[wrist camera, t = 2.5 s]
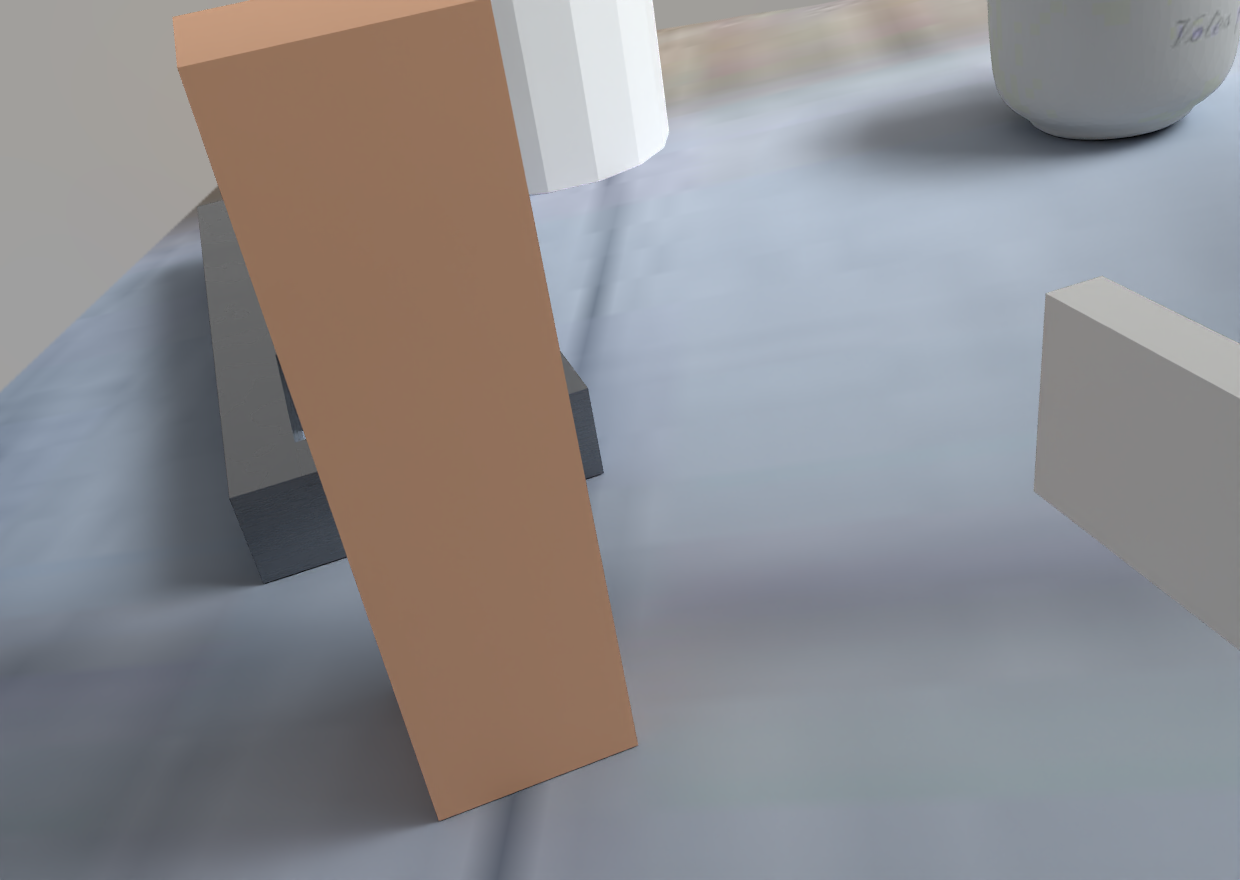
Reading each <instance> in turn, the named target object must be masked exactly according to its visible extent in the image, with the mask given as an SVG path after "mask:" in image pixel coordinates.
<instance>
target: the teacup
mask: <svg viewBox="0 0 1240 880" xmlns="http://www.w3.org/2000/svg"><path fill="white" fill-rule="evenodd" d="M987 1H988V24H989V39H990V51H991V61H992V70H993V75H994V80H995V84H996V87H997V90H998V92H999V94H1000V96H1001V98H1002V99H1003V101H1004V102H1005V103H1006V104H1007V105H1008V106H1009V107H1010V108H1011V109H1012V110H1013V111H1014V112H1016V113H1017V114H1019V115H1021V116H1022V117H1024V118H1026V119H1028V120H1029V121H1030V122H1031V123H1032V124H1033V126H1035V127H1036V128H1038V129H1040V130H1041V131H1043V132H1045V133H1047V134H1050V135H1053V136H1057V137H1063V138H1070V139H1085V140H1095V139H1114V138H1123V137H1130V136H1135V135H1140V134H1145V133H1149V132H1153V131H1156V130H1160V129H1162V128H1165V127H1167V126H1169V125H1171V124H1173V123H1175V122H1177V121H1178V120H1180V119H1181V118H1183V117H1184V116H1185V115H1187V114H1188V113H1189V112H1190V111H1191V110H1192V108H1193V107H1194V106H1195V105H1197V104H1198V103H1200V102H1201V101H1203V100H1204V99H1206V98H1207V97H1208V96H1209V95H1210V94H1212V93H1213V92H1214V91H1215V90H1216V89H1217V88H1218V87H1219V86H1220V85H1221V84H1222V82H1223V81H1224V80H1225V78H1226V76H1227V75H1228V73H1229V71H1230V69H1231V67H1232V64H1233V62H1234V59H1235V56H1236V52H1237V47H1238V42H1239V36H1240V0H987Z"/></svg>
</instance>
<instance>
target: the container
mask: <svg viewBox="0 0 1240 880" xmlns="http://www.w3.org/2000/svg"><path fill="white" fill-rule="evenodd" d="M491 5H492V10H493V15H494V20H495V25H496V30H497V35H498V41H499V46H500V51H501V56H502V61H503V66H504V71H505V76H506V81H507V86H508V91H509V96H510V101H511V106H512V111H513V116H514V121H515V126H516V131H517V136H518V141H519V147H520V152H521V157H522V162H523V167H524V172H525V177H526V182H527V187H528V192H529V195H534V194H544V193H551V192H556V191H560V190H564V189H569V188H573V187H577V186H582V185H586V184H590V183H595V182H599V181H601V180H604V179H606V178H609V177H611V176H614V175H616V174H619V173H621V172H624V171H626V170H629V169H631V168H634V167H636V166H639V165H641V164H642V163H643V162H645V161H646V160H648V159H649V158H650V157H652V156H653V155H654V154H656V153H657V152H659V151H660V150H661V149H663V148H664V146H665V143H666V140H667V136H668V133H669V128H668V120H667V112H666V104H665V96H664V88H663V80H662V72H661V64H660V56H659V48H658V41H657V33H656V25H655V17H654V9H653V2H652V0H491Z"/></svg>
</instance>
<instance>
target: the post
mask: <svg viewBox="0 0 1240 880" xmlns="http://www.w3.org/2000/svg"><path fill="white" fill-rule="evenodd" d="M173 26H174V36H175V48H176V59H177V68H178V71H179V74H180V77H181V80H182V83H183V86H184V88H185V91H186V94H187V97H188V100H189V103H190V106H191V108H192V111H193V114H194V117H195V120H196V123H197V126H198V129H199V131H200V134H201V137H202V140H203V143H204V146H205V149H206V152H207V155H208V158H209V160H210V163H211V166H212V169H213V172H214V175H215V178H216V181H217V183H218V186H219V189H220V192H221V195H222V198H223V201H224V204H225V206H226V209H227V212H228V215H229V218H230V221H231V224H232V227H233V230H234V232H235V235H236V238H237V241H238V244H239V247H240V250H241V253H242V255H243V258H244V261H245V264H246V267H247V270H248V273H249V276H250V278H251V281H252V284H253V287H254V290H255V293H256V296H257V299H258V302H259V304H260V307H261V310H262V313H263V316H264V319H265V322H266V325H267V327H268V330H269V333H270V336H271V339H272V342H273V345H274V348H275V351H276V353H277V356H278V359H279V362H280V365H281V368H282V371H283V374H284V376H285V379H286V382H287V385H288V388H289V391H290V394H291V397H292V399H293V402H294V405H295V408H296V411H297V414H298V417H299V420H300V423H301V425H302V428H303V431H304V434H305V437H306V440H307V443H308V446H309V448H310V451H311V454H312V457H313V460H314V463H315V466H316V469H317V471H318V474H319V477H320V480H321V483H322V486H323V489H324V492H325V495H326V497H327V500H328V503H329V506H330V509H331V512H332V515H333V518H334V520H335V523H336V526H337V529H338V532H339V535H340V538H341V541H342V543H343V546H344V549H345V552H346V555H347V558H348V561H349V564H350V567H351V569H352V572H353V575H354V578H355V581H356V584H357V587H358V590H359V592H360V595H361V598H362V601H363V604H364V607H365V610H366V613H367V616H368V618H369V621H370V624H371V627H372V630H373V633H374V636H375V639H376V641H377V644H378V647H379V650H380V653H381V656H382V659H383V662H384V664H385V667H386V670H387V673H388V676H389V679H390V682H391V685H392V688H393V690H394V693H395V696H396V699H397V702H398V705H399V708H400V711H401V713H402V716H403V719H404V722H405V725H406V728H407V731H408V734H409V736H410V739H411V742H412V745H413V748H414V751H415V754H416V757H417V760H418V762H419V765H420V768H421V771H422V774H423V777H424V780H425V783H426V785H427V788H428V791H429V794H430V797H431V800H432V803H433V806H434V808H435V811H436V814H437V817H438V820H439V821H441V820H444V819H446V818H449V817H452V816H454V815H457V814H459V813H462V812H465V811H467V810H470V809H473V808H475V807H478V806H480V805H483V804H486V803H488V802H491V801H493V800H496V799H499V798H501V797H504V796H507V795H509V794H512V793H514V792H517V791H520V790H522V789H525V788H527V787H530V786H533V785H535V784H538V783H541V782H543V781H546V780H548V779H551V778H554V777H556V776H559V775H561V774H564V773H567V772H569V771H572V770H575V769H577V768H580V767H582V766H585V765H588V764H590V763H593V762H595V761H598V760H601V759H603V758H606V757H609V756H611V755H614V754H616V753H619V752H622V751H624V750H627V749H629V748H632V747H635V746H637V745H638V742H637V737H636V732H635V727H634V722H633V717H632V712H631V707H630V702H629V697H628V692H627V687H626V682H625V676H624V671H623V666H622V661H621V656H620V651H619V646H618V641H617V636H616V631H615V626H614V621H613V616H612V611H611V606H610V601H609V596H608V591H607V586H606V581H605V576H604V570H603V565H602V560H601V555H600V550H599V545H598V540H597V535H596V530H595V525H594V520H593V515H592V510H591V505H590V500H589V495H588V490H587V485H586V480H585V475H584V470H583V464H582V459H581V454H580V449H579V444H578V439H577V434H576V429H575V424H574V419H573V414H572V409H571V404H570V399H569V394H568V389H567V384H566V379H565V374H564V369H563V364H562V358H561V353H560V348H559V343H558V338H557V333H556V328H555V323H554V318H553V313H552V308H551V303H550V298H549V293H548V288H547V283H546V278H545V273H544V268H543V263H542V258H541V252H540V247H539V242H538V237H537V232H536V227H535V222H534V217H533V212H532V207H531V202H530V197H529V192H528V187H527V182H526V177H525V172H524V167H523V162H522V157H521V152H520V147H519V141H518V136H517V131H516V126H515V121H514V116H513V111H512V106H511V101H510V96H509V91H508V86H507V81H506V76H505V71H504V66H503V61H502V56H501V51H500V46H499V41H498V35H497V30H496V25H495V20H494V15H493V10H492V5H491V0H249V1H245V2H240V3H236V4H231V5H226V6H221V7H217V8H212V9H207V10H203V11H198V12H193V13H189V14H184V15H179V16H175V17H173Z"/></svg>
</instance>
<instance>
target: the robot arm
mask: <svg viewBox="0 0 1240 880" xmlns="http://www.w3.org/2000/svg"><path fill="white" fill-rule="evenodd" d="M1034 492H1035V493H1037V494H1038V495H1039V496H1041V497H1042V498H1043V499H1044V500H1046V501H1047V502H1048V503H1050V504H1051V505H1052V506H1053V507H1055V508H1056V509H1057V510H1059V511H1060V512H1061V513H1062V514H1064V515H1065V516H1066V517H1068V518H1069V519H1070V520H1072V521H1073V522H1074V523H1075V524H1077V525H1078V526H1079V527H1081V528H1082V529H1083V530H1084V531H1086V532H1087V533H1088V534H1090V535H1091V536H1092V537H1093V538H1095V539H1096V540H1097V541H1099V542H1100V543H1101V544H1103V545H1104V546H1105V547H1106V548H1108V549H1109V550H1110V551H1112V552H1113V553H1114V554H1115V555H1117V556H1118V557H1119V558H1121V559H1122V560H1123V561H1125V562H1126V563H1127V564H1128V565H1130V566H1131V567H1132V568H1134V569H1135V570H1136V571H1137V572H1139V573H1140V574H1141V575H1143V576H1144V577H1145V578H1146V579H1148V580H1149V581H1150V582H1152V583H1153V584H1154V585H1156V586H1157V587H1158V588H1159V589H1161V590H1162V591H1163V592H1165V593H1166V594H1167V595H1168V596H1170V597H1171V598H1172V599H1174V600H1175V601H1176V602H1177V603H1179V604H1180V605H1181V606H1183V607H1184V608H1185V609H1187V610H1188V611H1189V612H1190V613H1192V614H1193V615H1194V616H1196V617H1197V618H1198V619H1199V620H1201V621H1202V622H1203V623H1205V624H1206V625H1207V626H1209V627H1210V628H1211V629H1212V630H1214V631H1215V632H1216V633H1218V634H1219V635H1220V636H1221V637H1223V638H1224V639H1225V640H1227V641H1228V642H1229V643H1230V644H1232V645H1233V646H1234V647H1236V648H1237V649H1238V650H1240V344H1239V343H1237V342H1235V341H1233V340H1231V339H1229V338H1227V337H1225V336H1223V335H1221V334H1219V333H1217V332H1215V331H1213V330H1211V329H1209V328H1207V327H1205V326H1203V325H1201V324H1199V323H1197V322H1195V321H1193V320H1191V319H1189V318H1187V317H1184V316H1182V315H1180V314H1178V313H1176V312H1174V311H1172V310H1170V309H1168V308H1166V307H1164V306H1162V305H1160V304H1158V303H1156V302H1154V301H1152V300H1150V299H1148V298H1146V297H1144V296H1142V295H1140V294H1138V293H1136V292H1134V291H1132V290H1130V289H1128V288H1125V287H1123V286H1121V285H1119V284H1117V283H1115V282H1113V281H1111V280H1109V279H1107V278H1105V277H1103V276H1100V277H1097V278H1094V279H1090V280H1087V281H1084V282H1081V283H1078V284H1074V285H1071V286H1068V287H1065V288H1061V289H1058V290H1055V291H1052V292H1048V293H1046V297H1045V313H1044V330H1043V346H1042V363H1041V379H1040V396H1039V412H1038V429H1037V446H1036V462H1035V479H1034Z"/></svg>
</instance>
